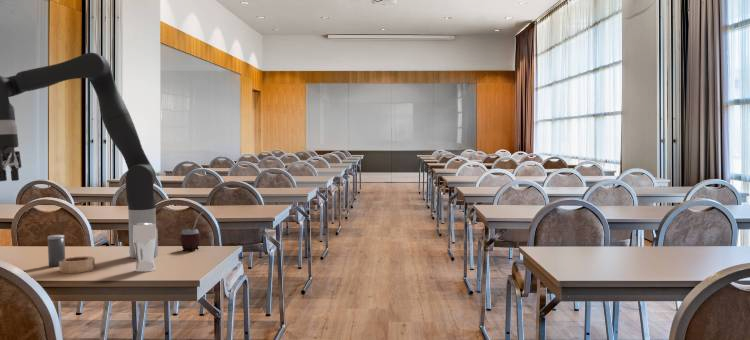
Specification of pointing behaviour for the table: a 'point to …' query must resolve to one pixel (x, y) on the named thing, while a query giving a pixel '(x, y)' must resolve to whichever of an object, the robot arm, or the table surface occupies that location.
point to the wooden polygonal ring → (76, 264)
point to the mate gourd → (190, 238)
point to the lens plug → (56, 249)
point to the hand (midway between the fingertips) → (9, 180)
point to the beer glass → (144, 246)
